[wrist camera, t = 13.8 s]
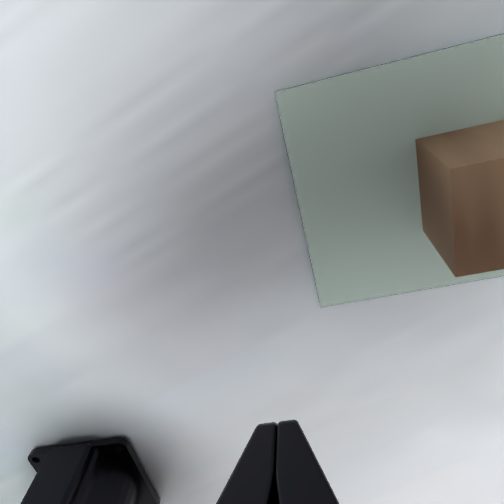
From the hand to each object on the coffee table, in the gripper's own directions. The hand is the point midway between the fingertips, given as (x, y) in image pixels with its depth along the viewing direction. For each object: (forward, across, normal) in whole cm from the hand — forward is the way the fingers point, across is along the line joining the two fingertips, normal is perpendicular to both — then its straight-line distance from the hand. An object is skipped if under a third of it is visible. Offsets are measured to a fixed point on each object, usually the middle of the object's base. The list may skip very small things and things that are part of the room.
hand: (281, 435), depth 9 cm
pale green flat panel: (+11, -8, -1) cm, 14 cm away
